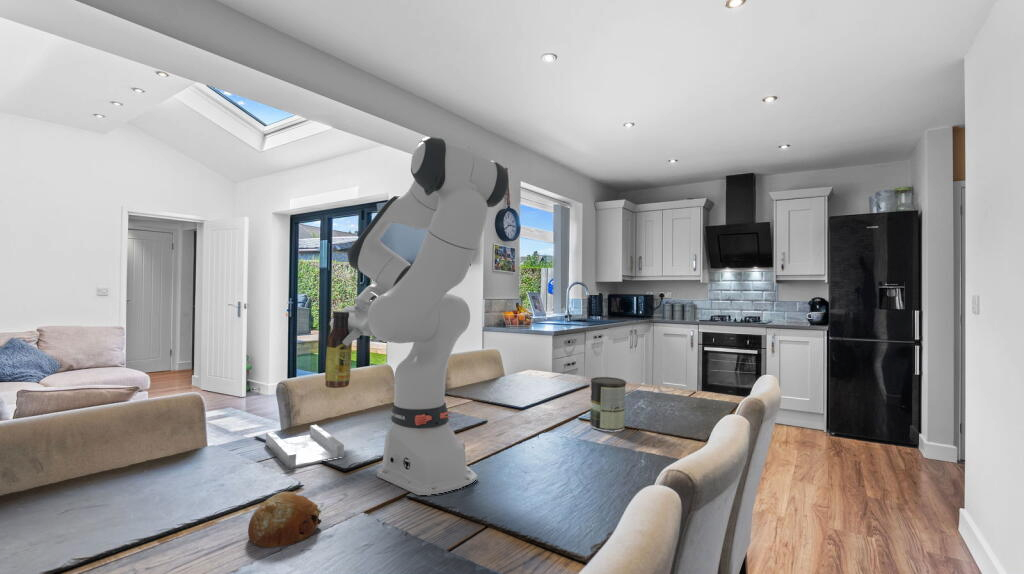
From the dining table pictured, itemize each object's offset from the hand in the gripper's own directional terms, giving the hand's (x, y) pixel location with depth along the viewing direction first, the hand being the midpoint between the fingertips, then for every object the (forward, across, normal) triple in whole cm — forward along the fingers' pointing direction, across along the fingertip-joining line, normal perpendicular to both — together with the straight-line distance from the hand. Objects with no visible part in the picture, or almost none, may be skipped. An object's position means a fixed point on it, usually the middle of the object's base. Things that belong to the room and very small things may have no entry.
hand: (336, 343), depth 125 cm
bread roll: (+38, +40, -2) cm, 56 cm away
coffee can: (-27, +43, +64) cm, 81 cm away
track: (+25, +5, +10) cm, 27 cm away
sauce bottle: (+8, 0, +9) cm, 12 cm away
